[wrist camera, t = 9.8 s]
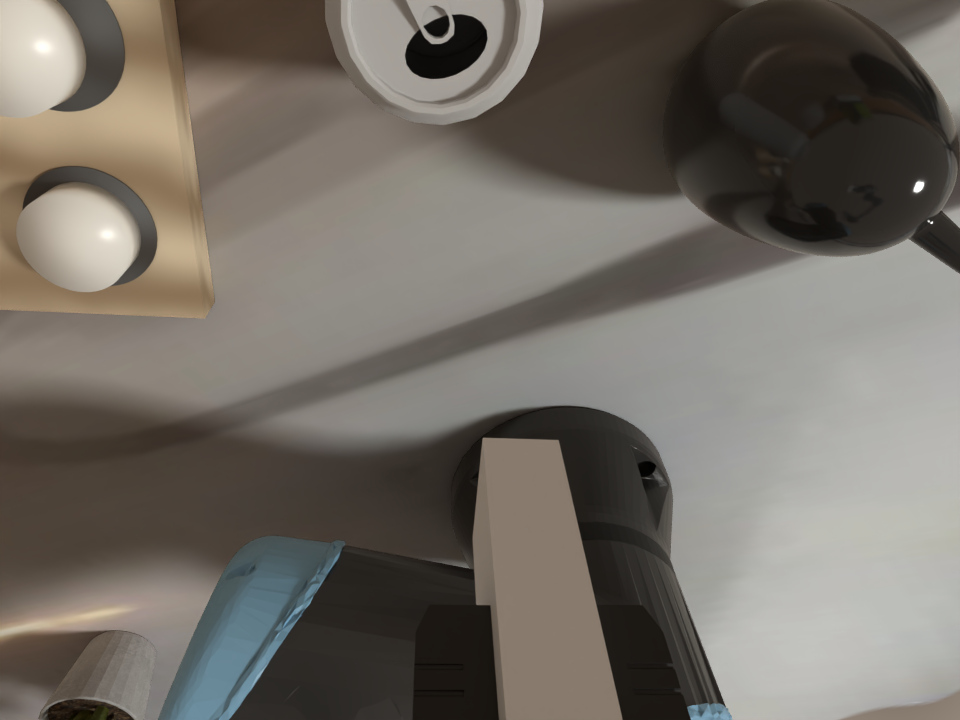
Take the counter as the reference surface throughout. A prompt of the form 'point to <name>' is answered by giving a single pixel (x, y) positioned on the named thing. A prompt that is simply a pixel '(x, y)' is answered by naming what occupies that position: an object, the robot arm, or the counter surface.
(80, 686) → the house plant
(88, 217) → the button
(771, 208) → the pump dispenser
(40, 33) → the button
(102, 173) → the button board
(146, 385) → the counter surface
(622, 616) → the robot arm
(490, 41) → the can
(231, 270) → the counter surface
